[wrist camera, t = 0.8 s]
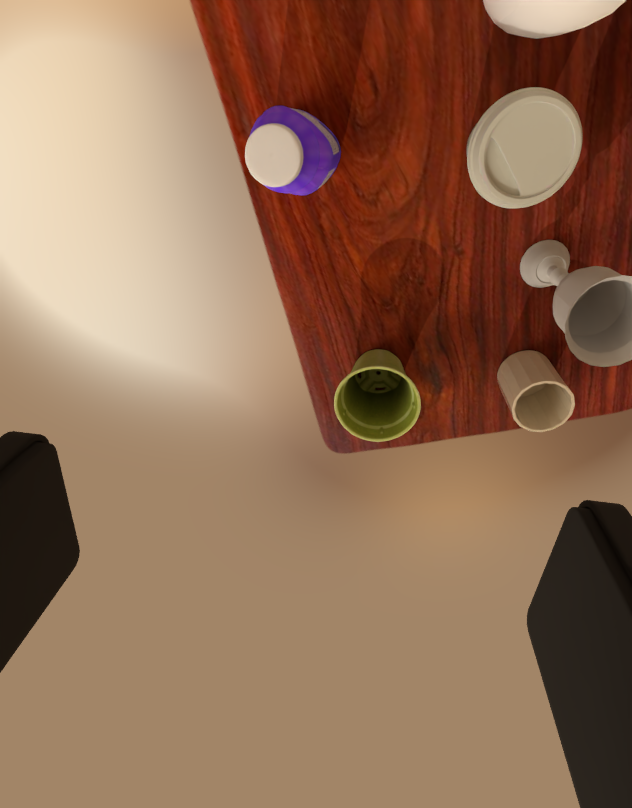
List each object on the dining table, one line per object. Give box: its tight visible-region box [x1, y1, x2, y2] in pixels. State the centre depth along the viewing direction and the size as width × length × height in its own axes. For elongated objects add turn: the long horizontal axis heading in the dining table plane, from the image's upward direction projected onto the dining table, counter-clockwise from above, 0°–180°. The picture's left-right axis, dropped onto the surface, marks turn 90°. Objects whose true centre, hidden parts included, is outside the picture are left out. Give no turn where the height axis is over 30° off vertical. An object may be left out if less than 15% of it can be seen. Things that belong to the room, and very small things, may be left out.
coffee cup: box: [467, 87, 582, 208], centre depth 43 cm, size 8×8×12 cm
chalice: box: [520, 240, 632, 367], centre depth 45 cm, size 7×7×18 cm
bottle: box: [245, 106, 341, 195], centre depth 42 cm, size 7×6×17 cm
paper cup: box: [497, 350, 575, 432], centre depth 56 cm, size 6×6×8 cm
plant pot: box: [334, 349, 421, 442], centre depth 57 cm, size 9×9×9 cm
